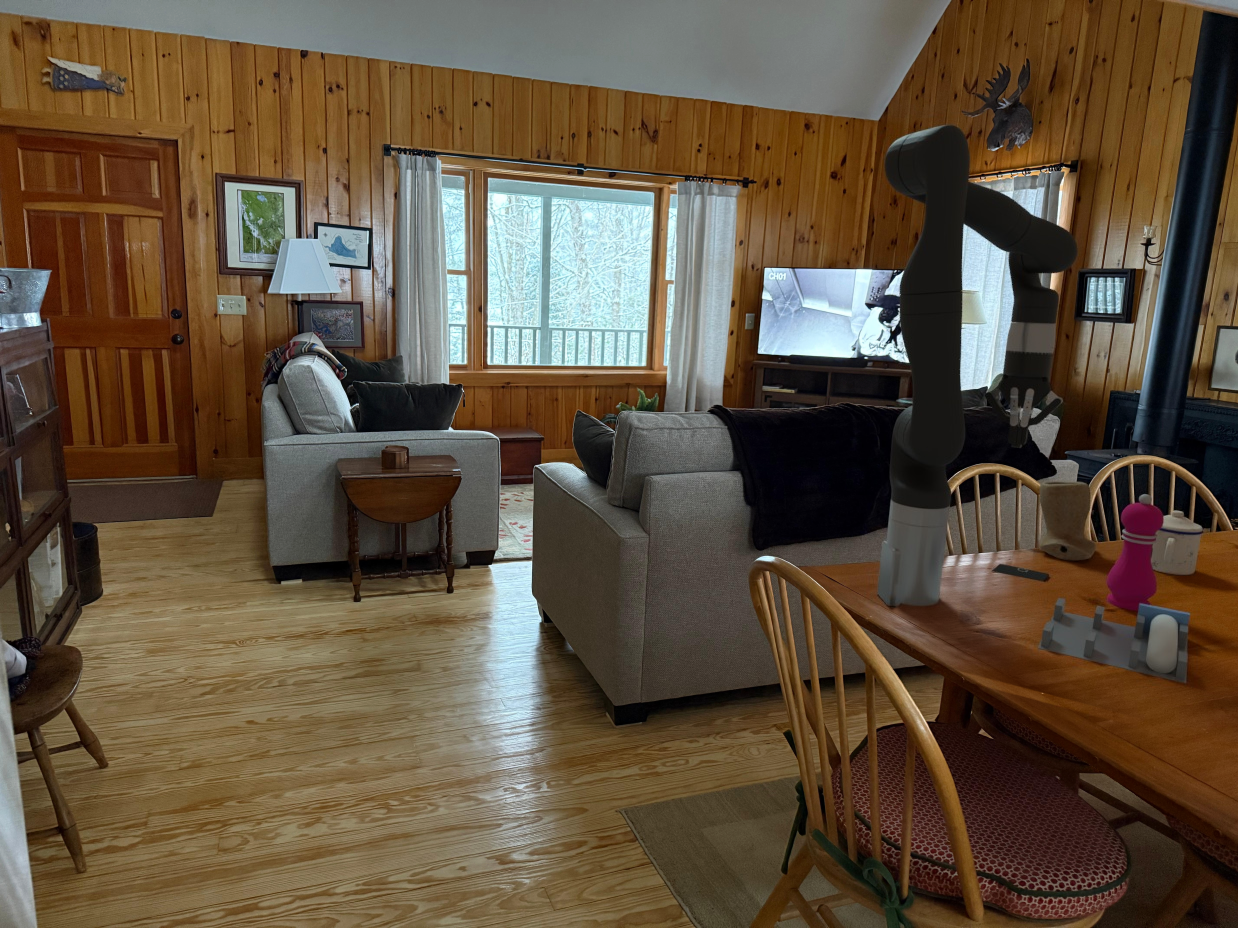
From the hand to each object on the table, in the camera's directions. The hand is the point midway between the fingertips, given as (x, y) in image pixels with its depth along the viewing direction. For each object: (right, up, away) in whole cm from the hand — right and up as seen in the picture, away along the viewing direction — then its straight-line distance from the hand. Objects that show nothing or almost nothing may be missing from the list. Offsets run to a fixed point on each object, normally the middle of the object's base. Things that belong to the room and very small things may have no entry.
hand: (1016, 446), depth 149 cm
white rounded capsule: (+7, -30, -28) cm, 42 cm away
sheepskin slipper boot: (+21, -22, +25) cm, 39 cm away
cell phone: (+1, -25, +4) cm, 26 cm away
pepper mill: (+15, -28, -8) cm, 33 cm away
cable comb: (+2, -31, -25) cm, 40 cm away
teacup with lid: (+37, -24, +15) cm, 46 cm away
